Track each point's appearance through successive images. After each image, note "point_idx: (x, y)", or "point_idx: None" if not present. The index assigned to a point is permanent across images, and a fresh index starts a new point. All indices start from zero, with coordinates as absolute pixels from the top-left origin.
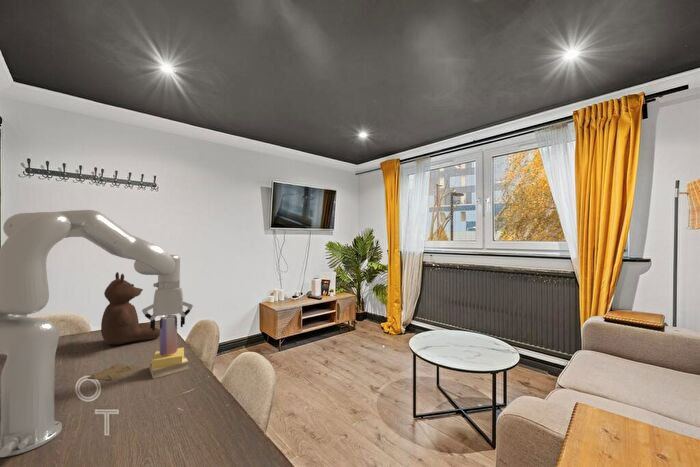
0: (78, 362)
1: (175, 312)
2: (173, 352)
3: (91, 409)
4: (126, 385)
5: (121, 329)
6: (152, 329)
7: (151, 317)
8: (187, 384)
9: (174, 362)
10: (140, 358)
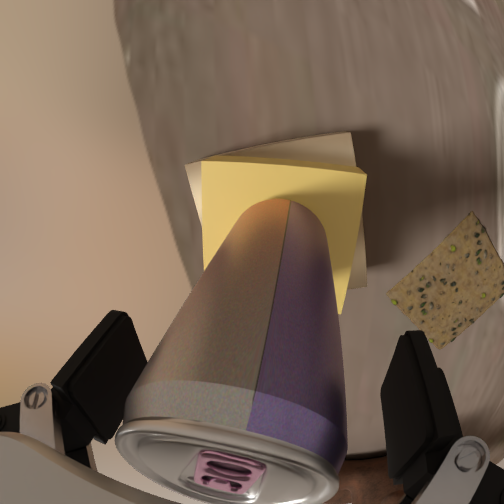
0: (486, 393)
1: (45, 473)
2: (247, 209)
3: (487, 18)
4: (435, 129)
5: (401, 484)
6: (426, 338)
7: (473, 481)
8: (201, 10)
9: (249, 158)
10: (374, 369)
